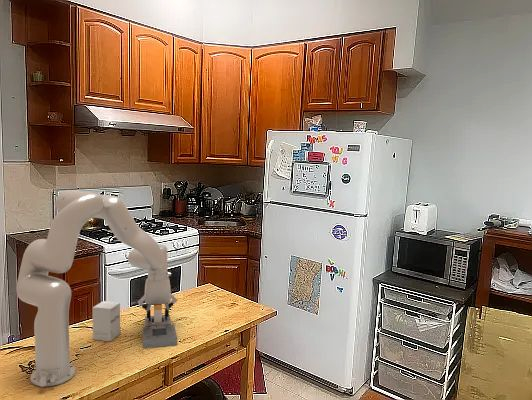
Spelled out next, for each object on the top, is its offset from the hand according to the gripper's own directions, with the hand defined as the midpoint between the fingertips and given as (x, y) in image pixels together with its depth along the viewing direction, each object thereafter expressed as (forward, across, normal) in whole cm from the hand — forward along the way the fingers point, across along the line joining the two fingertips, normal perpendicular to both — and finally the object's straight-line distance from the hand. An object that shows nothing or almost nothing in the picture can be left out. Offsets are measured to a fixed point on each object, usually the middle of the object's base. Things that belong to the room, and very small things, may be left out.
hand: (157, 318), depth 176 cm
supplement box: (+3, +19, +7) cm, 20 cm away
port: (+3, 0, +14) cm, 14 cm away
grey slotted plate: (+3, 0, 0) cm, 3 cm away
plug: (+3, 0, 0) cm, 3 cm away
